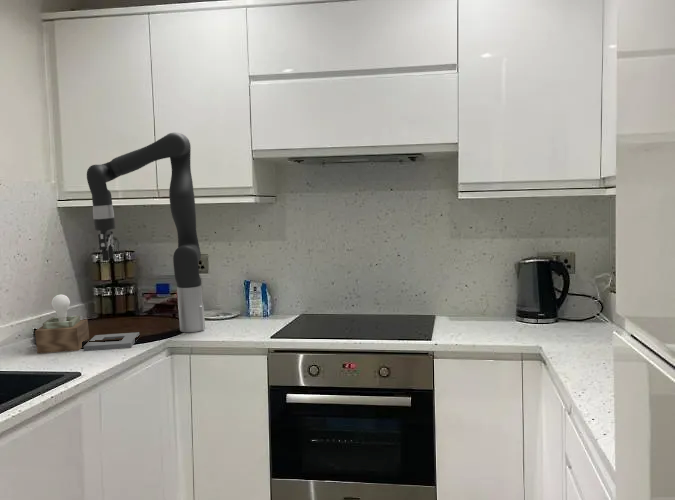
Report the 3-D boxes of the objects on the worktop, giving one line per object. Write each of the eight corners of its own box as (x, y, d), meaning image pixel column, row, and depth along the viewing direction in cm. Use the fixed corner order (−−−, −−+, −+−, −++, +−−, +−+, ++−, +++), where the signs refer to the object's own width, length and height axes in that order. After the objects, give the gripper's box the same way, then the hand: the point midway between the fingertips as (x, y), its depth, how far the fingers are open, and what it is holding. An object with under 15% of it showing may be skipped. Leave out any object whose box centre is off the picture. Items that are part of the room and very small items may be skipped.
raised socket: (89, 340, 242) (87, 314, 241) (78, 350, 228) (76, 322, 227) (50, 343, 241) (47, 316, 239) (37, 353, 227) (34, 325, 226)
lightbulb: (49, 326, 233) (46, 295, 231) (64, 322, 238) (61, 292, 237) (61, 327, 230) (58, 296, 228) (75, 323, 235) (72, 293, 234)
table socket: (139, 336, 245) (139, 332, 245) (131, 347, 229) (130, 343, 229) (95, 339, 243) (95, 335, 243) (84, 350, 227) (83, 346, 227)
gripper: (110, 217, 241) (114, 261, 243) (117, 215, 255) (122, 256, 257) (89, 219, 240) (93, 262, 242) (98, 216, 254) (102, 257, 256)
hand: (108, 259), depth 250 cm, fingers open, 8 cm apart
